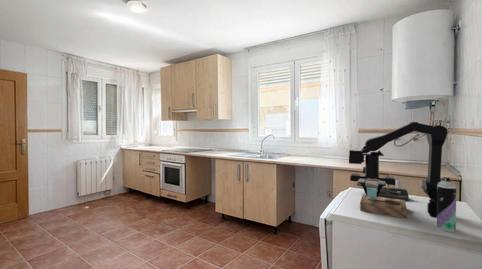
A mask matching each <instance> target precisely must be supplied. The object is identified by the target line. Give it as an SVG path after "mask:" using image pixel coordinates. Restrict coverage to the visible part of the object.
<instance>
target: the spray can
mask: <svg viewBox="0 0 482 269" xmlns="http://www.w3.org/2000/svg"><path fill="white" fill-rule="evenodd" d="M456 218H457V184H456V183H454V182H452V180H451V178H450V177H445V176H444V177H443V179H441V182H438V184H437V217H436V228H437V229H439V230H441V231H444V232H447V233H455V232H456V229H457V228H456V226H457V225H456V224H457V219H456Z"/></svg>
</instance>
